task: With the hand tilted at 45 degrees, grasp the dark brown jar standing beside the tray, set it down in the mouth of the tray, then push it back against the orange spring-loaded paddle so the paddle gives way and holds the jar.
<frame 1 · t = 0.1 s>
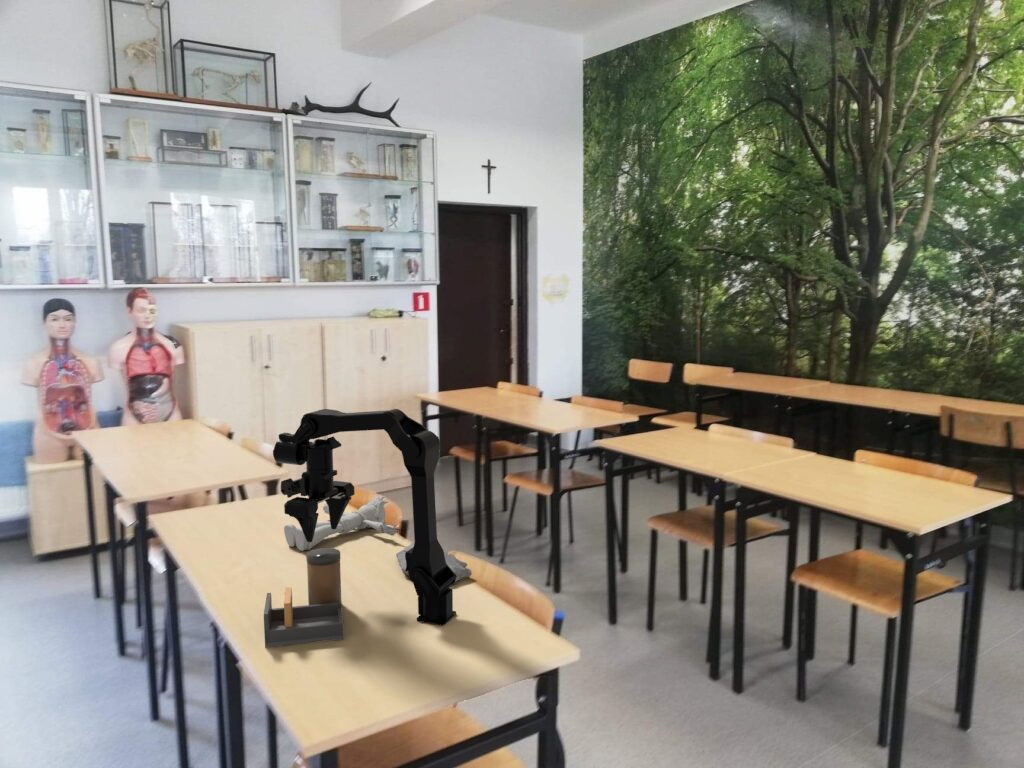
hand: (321, 535, 175), 15 cm above the table, tool pointing down, fingers open, 9 cm apart
stone: (429, 571, 194), on the table
jar: (325, 607, 172), on the table
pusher: (288, 611, 159), point 5 cm above the table, slide at 0.0 cm
tray: (305, 631, 160), on the table
toy: (340, 537, 219), on the table
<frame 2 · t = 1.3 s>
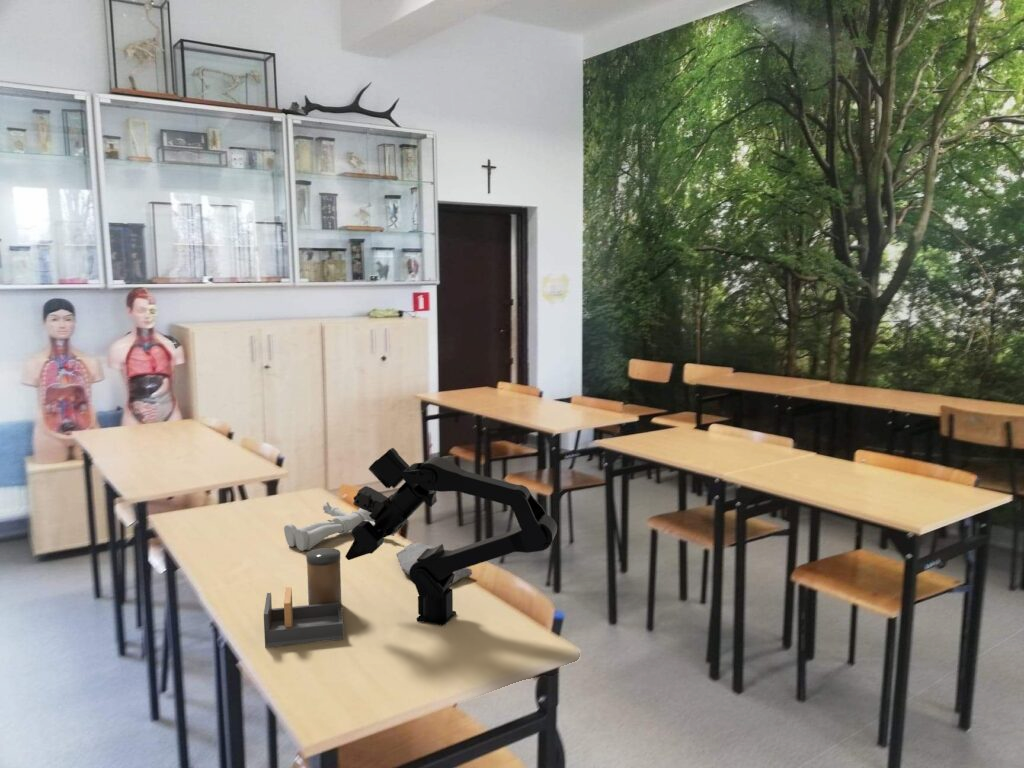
hand: (355, 550, 169), 13 cm above the table, tool tilted 45°, fingers open, 9 cm apart
nothing on the table moved.
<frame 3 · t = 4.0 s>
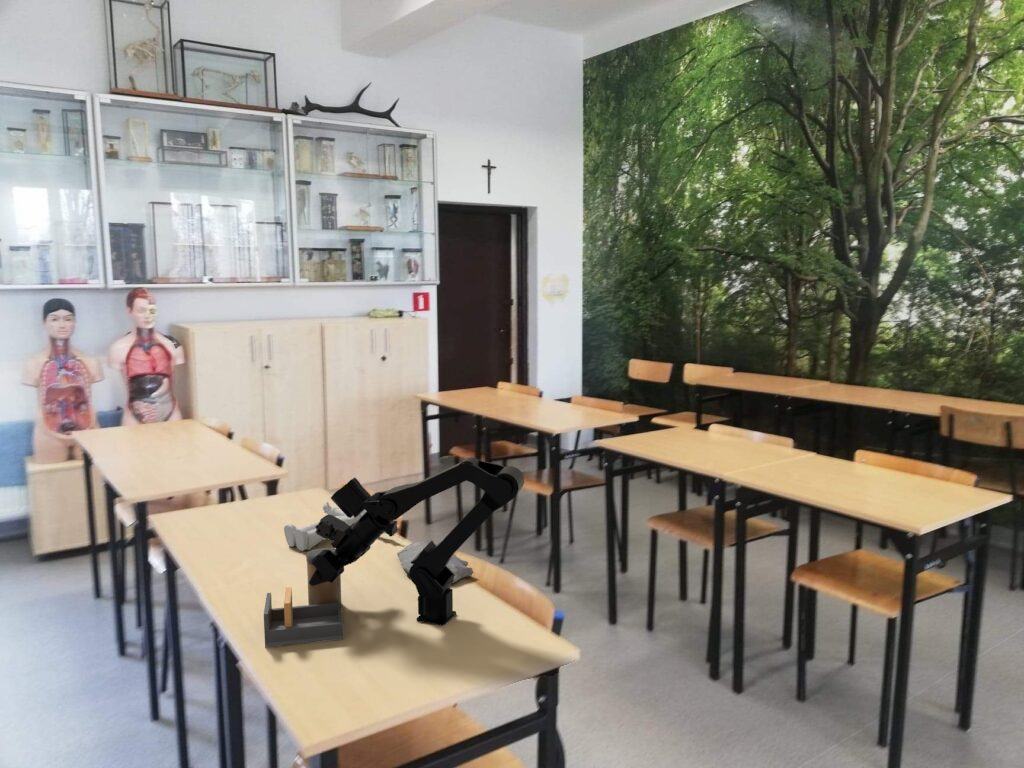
hand: (318, 577, 171), 7 cm above the table, tool tilted 45°, fingers closed on jar, 7 cm apart
jar: (325, 607, 172), on the table, touching gripper
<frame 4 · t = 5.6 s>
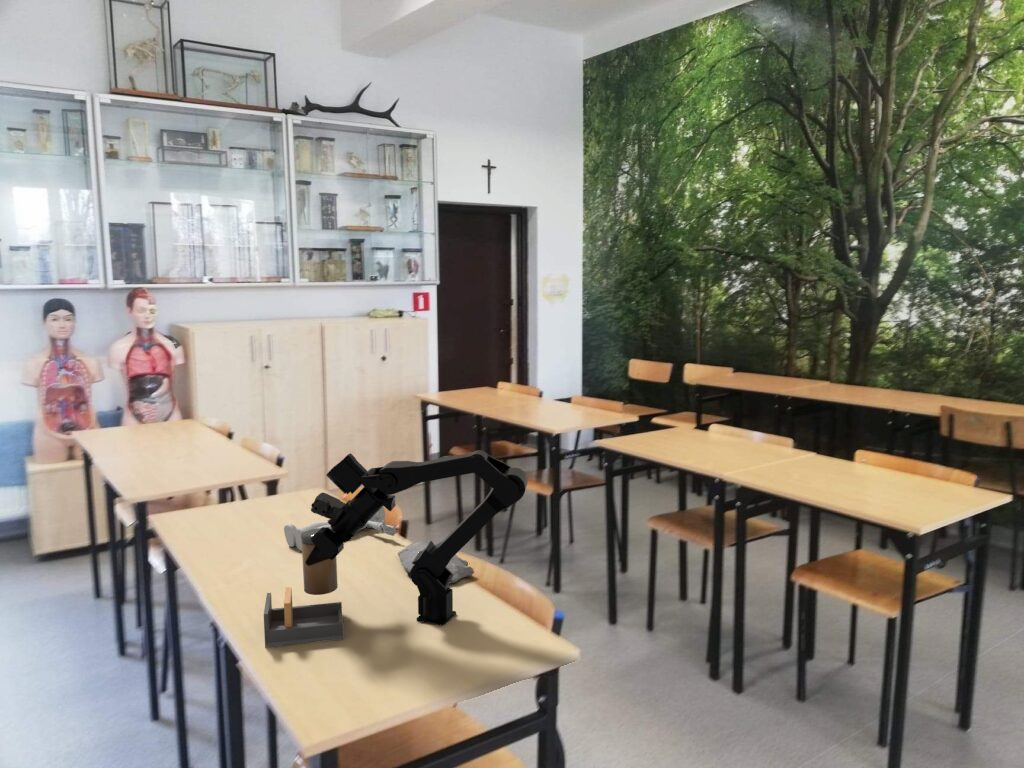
hand: (313, 557, 168), 12 cm above the table, tool tilted 45°, fingers closed on jar, 7 cm apart
jar: (320, 588, 168), point 5 cm above the table, touching gripper
when the fingers open (8 cm above the table, at t = 7.6 s): jar stays where it is, resting on tray.
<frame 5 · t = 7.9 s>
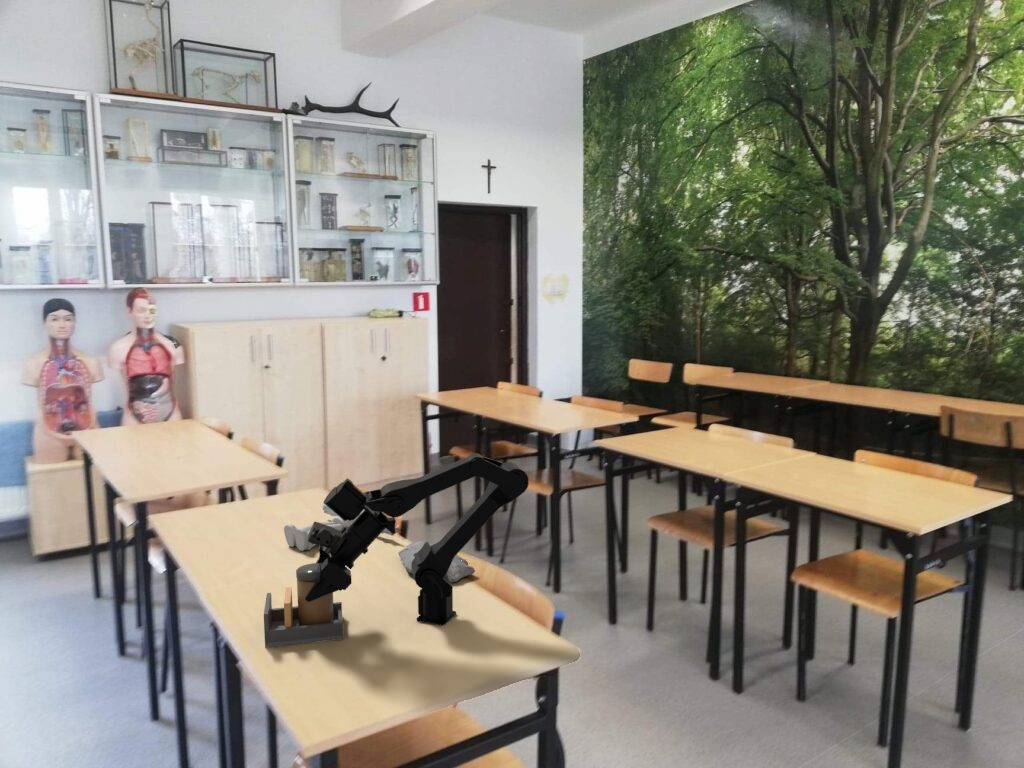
hand: (306, 591, 159), 9 cm above the table, tool tilted 45°, fingers open, 9 cm apart
jar: (316, 626, 161), point 1 cm above the table, touching tray
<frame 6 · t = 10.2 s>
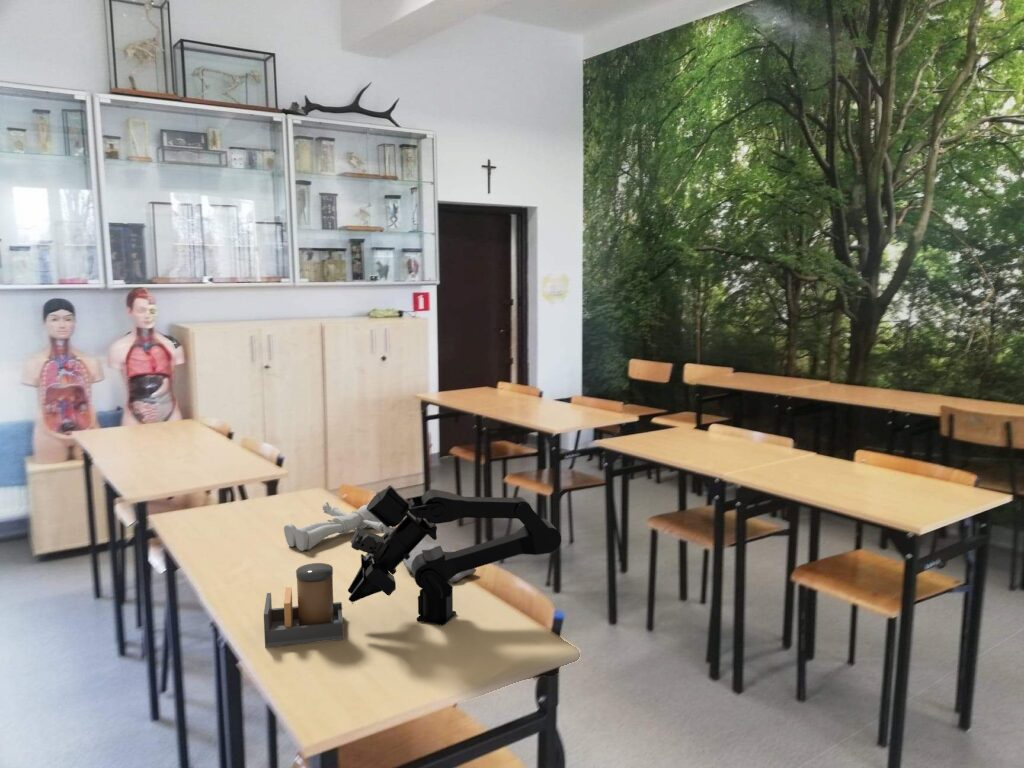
hand: (349, 596, 161), 7 cm above the table, tool tilted 45°, fingers open, 4 cm apart
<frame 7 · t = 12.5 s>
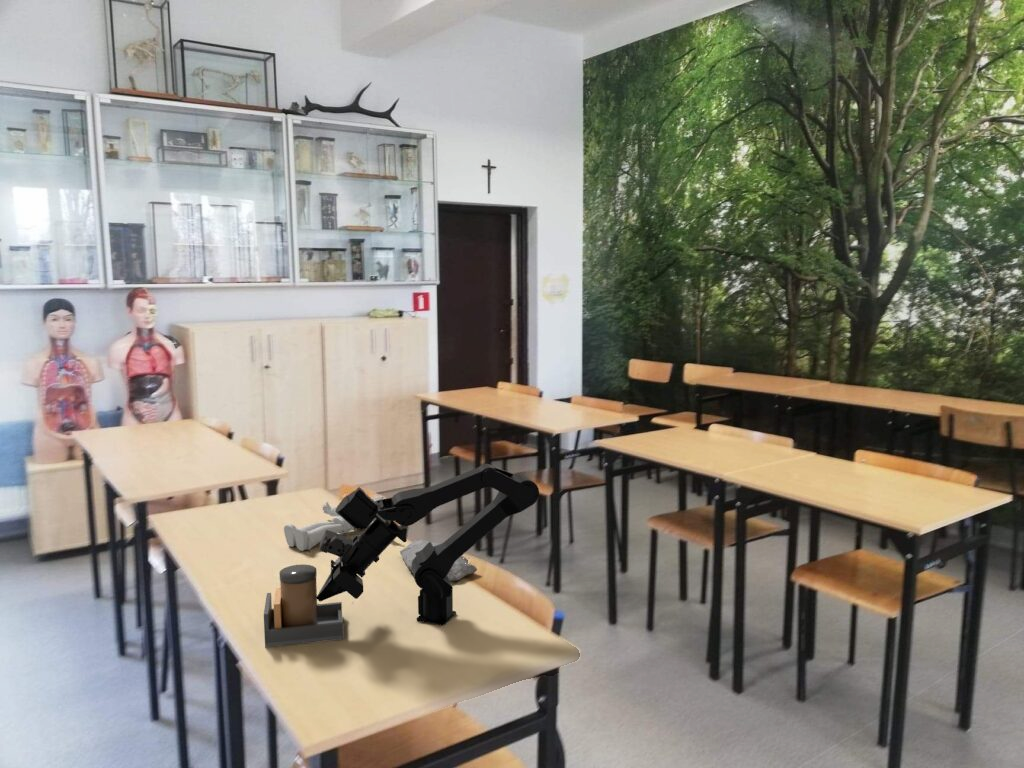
hand: (318, 599, 160), 7 cm above the table, tool tilted 45°, fingers closed, pressing on jar
jar: (300, 628, 160), point 1 cm above the table, touching gripper, tray, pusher
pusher: (278, 612, 158), point 5 cm above the table, slide at 1.9 cm, touching jar
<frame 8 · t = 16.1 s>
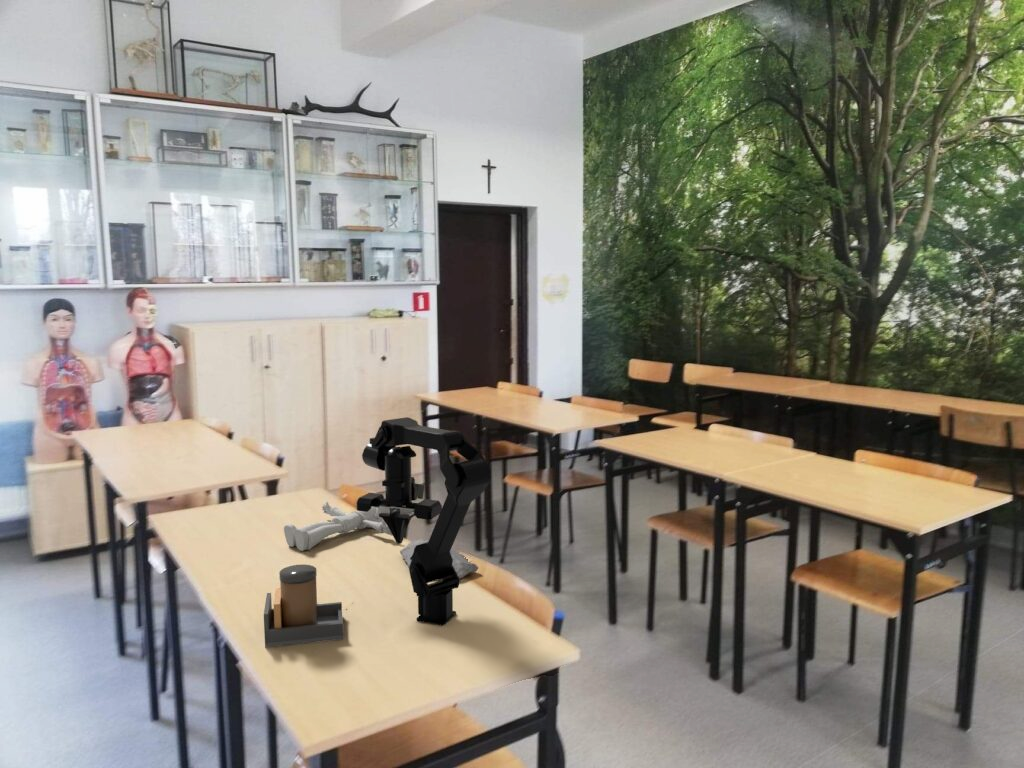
hand: (399, 543, 175), 13 cm above the table, tool pointing down, fingers closed
jar: (300, 628, 160), point 1 cm above the table, touching tray, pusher
at the end: jar inside the target area (0.9 cm from its centre), point 0.8 cm above the table; jar tilted 0°; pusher slide at 1.9 cm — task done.
